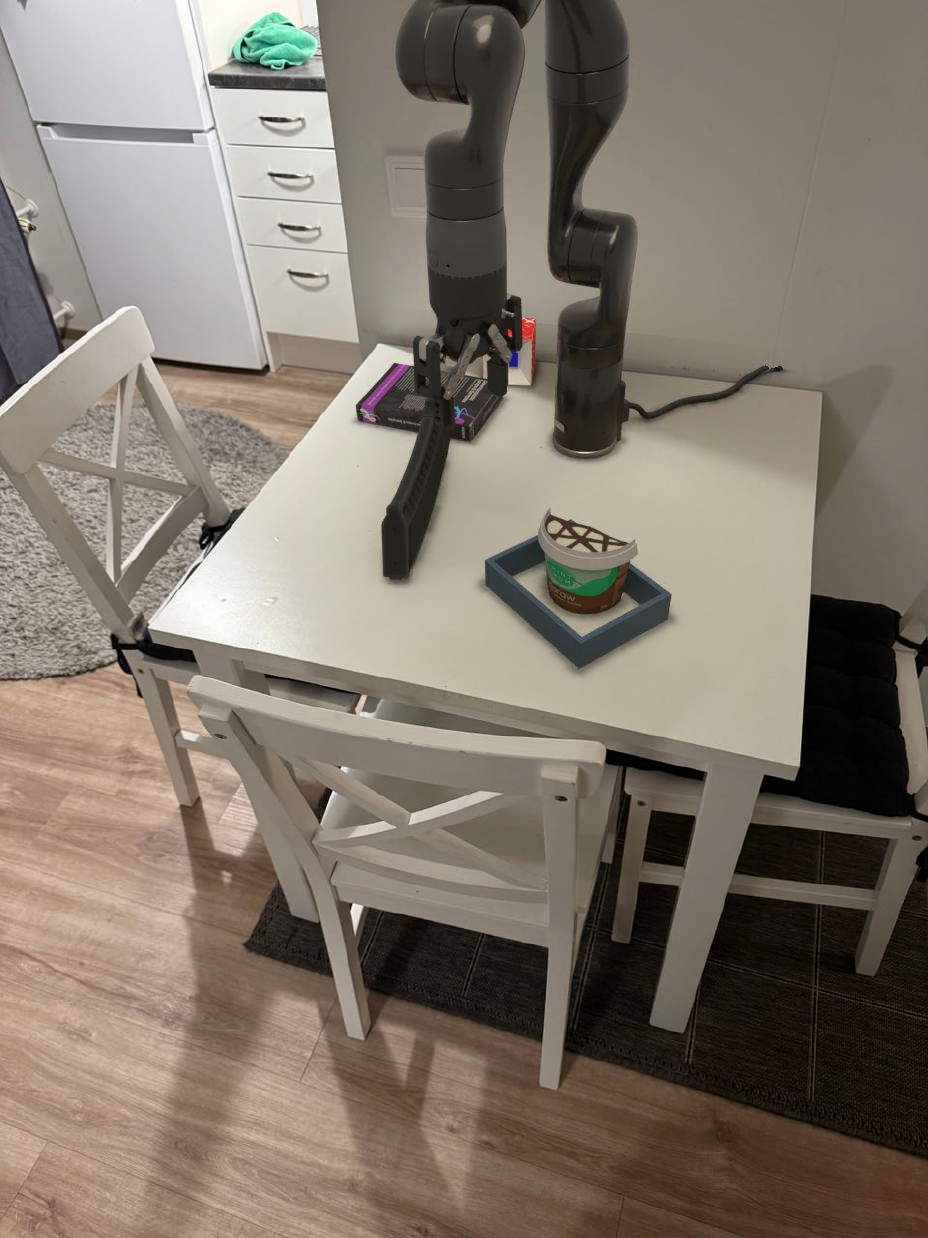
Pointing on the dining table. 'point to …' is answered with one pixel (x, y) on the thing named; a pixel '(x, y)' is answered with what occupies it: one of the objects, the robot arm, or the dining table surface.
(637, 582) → the blue rectangular frame
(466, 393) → the box
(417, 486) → the magazine
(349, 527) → the dining table surface
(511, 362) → the white and red cube
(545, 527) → the food container
